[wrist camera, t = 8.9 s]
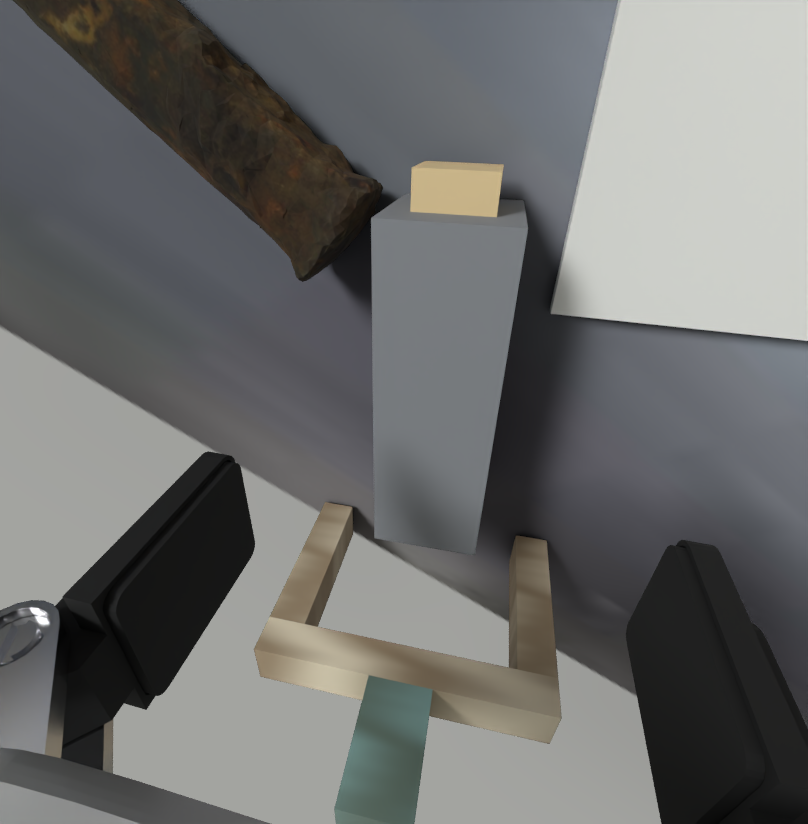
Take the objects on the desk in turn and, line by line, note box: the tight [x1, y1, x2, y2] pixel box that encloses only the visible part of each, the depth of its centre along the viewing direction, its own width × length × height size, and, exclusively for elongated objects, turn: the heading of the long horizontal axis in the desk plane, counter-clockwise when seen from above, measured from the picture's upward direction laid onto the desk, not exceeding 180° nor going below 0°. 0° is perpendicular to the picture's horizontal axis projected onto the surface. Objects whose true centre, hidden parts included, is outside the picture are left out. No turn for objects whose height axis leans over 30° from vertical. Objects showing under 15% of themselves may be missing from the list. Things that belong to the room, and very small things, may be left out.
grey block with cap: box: [371, 161, 528, 555], centre depth 17 cm, size 4×13×5 cm, turn 179°
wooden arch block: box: [254, 502, 561, 824], centre depth 19 cm, size 12×2×12 cm, turn 88°
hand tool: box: [13, 0, 383, 282], centre depth 13 cm, size 19×4×5 cm, turn 46°
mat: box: [550, 0, 808, 341], centre depth 12 cm, size 9×16×1 cm, turn 178°
